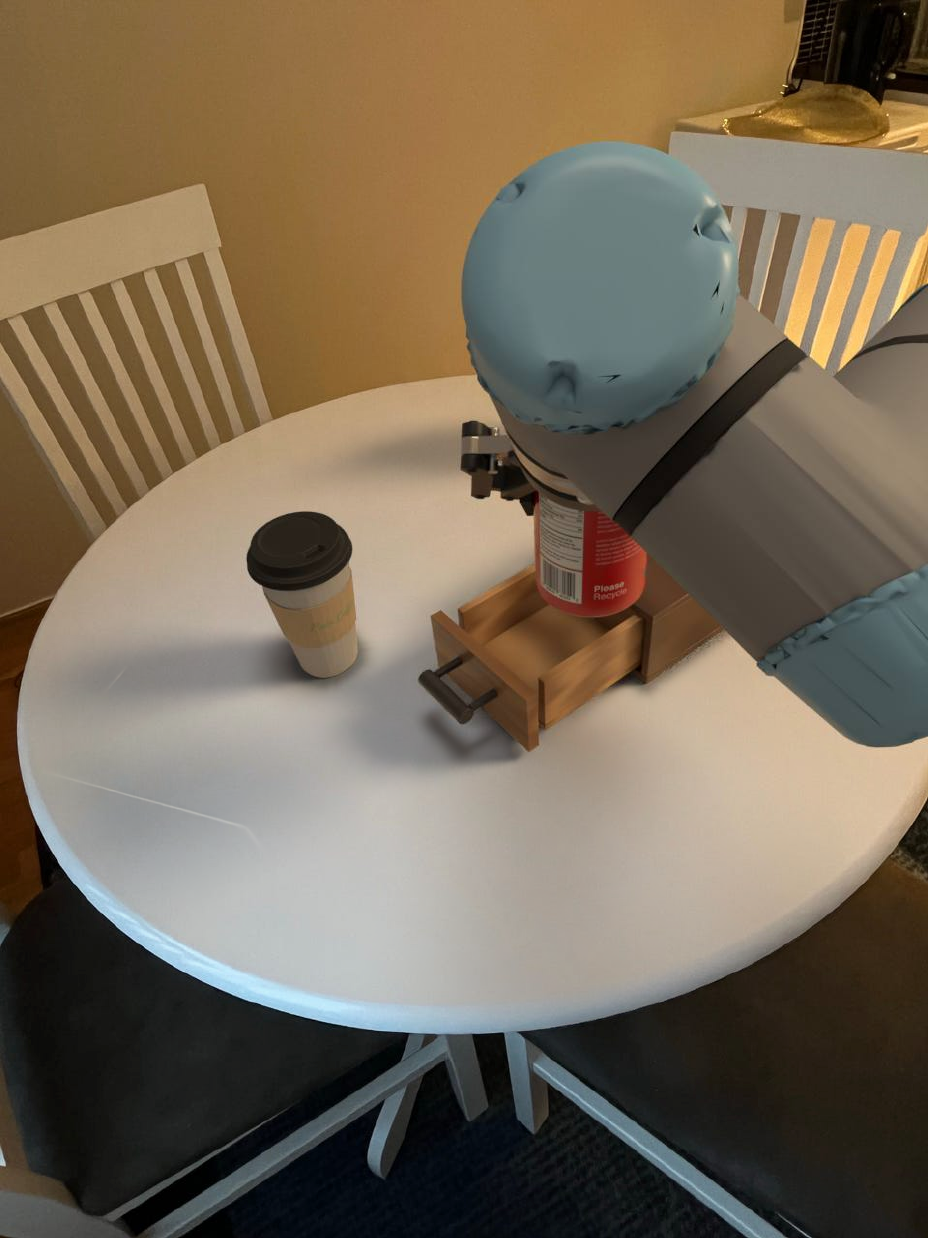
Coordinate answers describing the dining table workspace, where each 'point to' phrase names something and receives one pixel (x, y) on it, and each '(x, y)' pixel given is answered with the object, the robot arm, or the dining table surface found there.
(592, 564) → the soda can
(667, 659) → the cabinet
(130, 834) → the dining table surface
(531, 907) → the dining table surface
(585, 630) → the drawer
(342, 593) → the coffee cup
